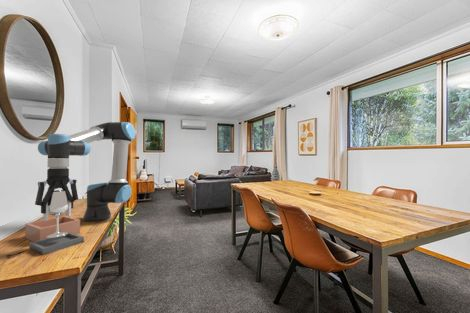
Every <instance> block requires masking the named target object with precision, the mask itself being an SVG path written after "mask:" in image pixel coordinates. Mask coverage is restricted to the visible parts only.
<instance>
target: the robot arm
mask: <svg viewBox="0 0 470 313" xmlns="http://www.w3.org/2000/svg"><path fill="white" fill-rule="evenodd" d="M135 138H136V129H135V127H134V125H133V124H132V123H131V122H128V121H127V122H125V121H120V122H119V121H117V122H115V121H114V122H112V121H109V122H104V123H100V124H97V125H94V126H91V127H90V128H89V129H86V130H83V131H79V132H76V133H73V134H70V135H68V134H65V133H51V134H49V135H48V136H47V140H42V141H40V142H39V143H38V144H37V151H38V152H39V154H41V155H42V156H47V172H46V173H47V174H46V175H47V178H46V180H44V181H38V182H37V186H38V188H37V193H36V198H35V201H34V202H35V203H34V205H35V206H40V213H41V214H43V220H44V221H48V220H49V219H50V218H49V217H50V216H49V215H50V214H49V206H47V203H48V201H49V199H50V197H51V195H52V192H53V191H56V189H58V190H59V189H61V190H63V191H65V190H66V193H67V197H68V202H69V207H68V210H67V211H66V212H65V213H66V215H65V216H67V217H72V209H73V208H74V202H75V201H77V200H79V196H78V189H77V179H71V178H70V177H69V176H70V175H69V174H70V169H69V167H70V156H76V157H77V156H79V157H82V156H83V157H84V156H87V155H88V154H90V152H91V149H92V148H91V145H90V143H92V142H95V141H96V142H97V141H100V142H101V141H102V140H111V142H112V143H113V152H112V153H113V154H112V155H113V156H112V167H111V178H110V180H109V181H108V182H100V183H95V184H89V185H88V186H87V188H86V210H85V212H84V215H83V219H82V220H83V222H87V223H88V222H89V223H90V222H98V221H99V222H102V221H105V220H107V219H110V218H111V217H112V215H111V214H112V213H111V210H110V207H109V204H122V203H126V202H127V201H129V199H130V198H131V196H132V192H133V190H132V187H131V185H130V184H129V181H127V171H128V159H129V158H128V157H129V156H128V155H129V145H130V144H131V143H132V140H134V139H135ZM68 184H70V186H68ZM46 185H47V186H48V187H47V191H46V193H45V187H46ZM69 187H70V190H71V192H70V190H69ZM44 194H45V195H44Z"/></svg>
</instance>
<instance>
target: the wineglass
mask: <svg viewBox="0 0 470 313" xmlns="http://www.w3.org/2000/svg"><path fill="white" fill-rule="evenodd" d="M47 206H49V215H51V216H52V217H55V218H56V220H57V230H56V232H55V233H52V234H49V235H47V236H46V237H47V238H56V237H61V236H64V235H66V234H68V232H66V231H63V232H60V231H59V217H61V216H63V215H64V214H65V213H66V211H67V210H68V207H69V201H68V197H67V193H66V190H65V191H63V189H58V190H56V189H55V190H54V191H53V192H52V195H51V197H50V199H49V201H48V203H47Z"/></svg>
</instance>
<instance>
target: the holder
mask: <svg viewBox="0 0 470 313" xmlns="http://www.w3.org/2000/svg"><path fill="white" fill-rule="evenodd" d="M24 225H25V228H24V229H25V232H24V235H25V237H24V238H25V239H27V240H29V241H31V242H35V241H39V240H43V239H47V237H46V236H47V235H49V234H52V233H55V232H56V230H57V220H56V217H53V218H49V220H48V221H44V220H37V221H34V222H33V221H32V222H29V223H25V224H24ZM59 231H60V232H63V231H66V232H68V233H69V232H70V233H73V234H77V235H79V234H81V219H79V218H75V217H72V216H66V215H61V216H59Z"/></svg>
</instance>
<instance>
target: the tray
mask: <svg viewBox="0 0 470 313" xmlns="http://www.w3.org/2000/svg"><path fill="white" fill-rule="evenodd" d="M82 243H85V237H84V236H82V235H79V234H73V233H70V232H69V233H68V234H66V235H64V236H61V237H56V238H47V239H43V240H39V241H35V242H33V241H31V242H29V250H30V251H33V252H35V253H37V254H39V255H41V254H42V256H45V255H48V254H50V252H51V253H53V251H54V252H57V250H58V251H61V250H64V249H67V248H69V247H73V246H77V245H79V244H80V245H81V244H82ZM60 249H61V250H60ZM47 253H48V254H47ZM44 254H45V255H44Z"/></svg>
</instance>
